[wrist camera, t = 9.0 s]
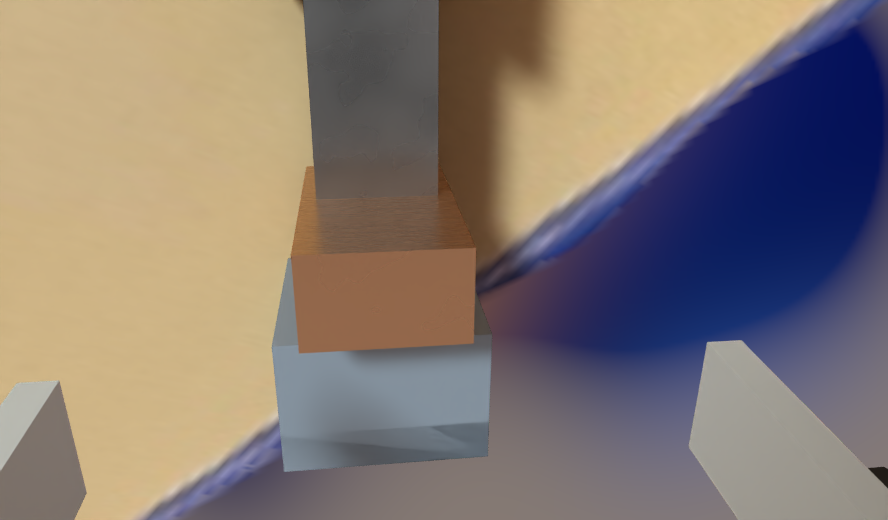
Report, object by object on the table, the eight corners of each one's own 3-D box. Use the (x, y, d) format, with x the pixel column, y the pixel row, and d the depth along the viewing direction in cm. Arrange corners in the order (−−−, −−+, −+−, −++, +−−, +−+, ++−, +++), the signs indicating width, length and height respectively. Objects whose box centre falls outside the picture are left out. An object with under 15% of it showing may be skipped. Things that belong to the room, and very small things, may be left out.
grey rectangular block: (287, 258, 30) (271, 346, 23) (460, 251, 31) (492, 334, 24) (296, 362, 32) (284, 471, 25) (458, 353, 33) (487, 456, 26)
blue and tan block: (289, -71, 24) (263, -81, 16) (439, -69, 25) (484, -78, 17) (316, 306, 30) (305, 437, 22) (438, 300, 30) (471, 426, 22)
